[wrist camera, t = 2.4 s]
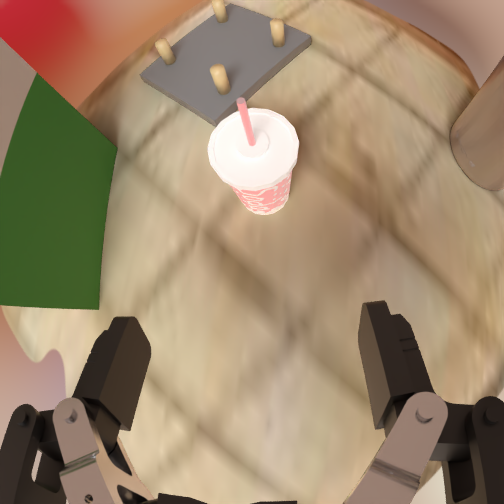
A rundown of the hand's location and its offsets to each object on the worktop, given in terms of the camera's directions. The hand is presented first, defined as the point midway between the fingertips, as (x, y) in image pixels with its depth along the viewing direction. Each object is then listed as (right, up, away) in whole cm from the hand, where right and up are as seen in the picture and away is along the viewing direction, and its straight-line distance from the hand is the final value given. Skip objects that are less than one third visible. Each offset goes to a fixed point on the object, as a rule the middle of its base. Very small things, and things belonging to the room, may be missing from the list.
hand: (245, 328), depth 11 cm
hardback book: (-19, +6, +21) cm, 28 cm away
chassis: (-3, +25, +22) cm, 33 cm away
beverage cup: (+1, +8, +18) cm, 20 cm away
